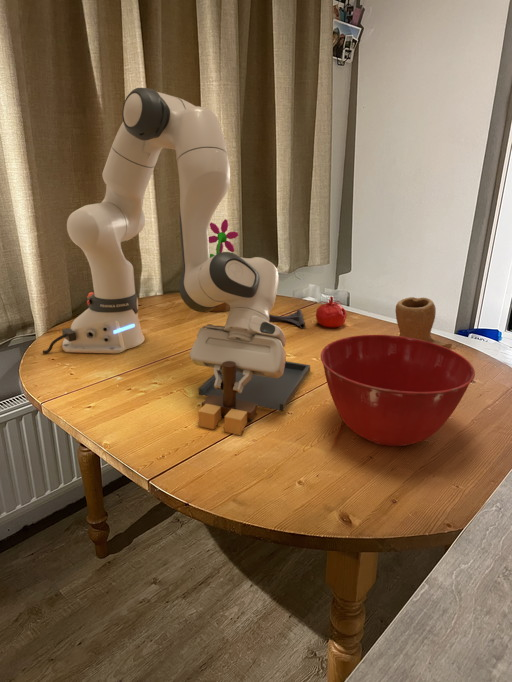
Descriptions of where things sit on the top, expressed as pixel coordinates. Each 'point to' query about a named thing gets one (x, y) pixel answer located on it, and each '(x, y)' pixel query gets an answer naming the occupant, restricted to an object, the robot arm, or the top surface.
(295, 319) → the dark grey scraper
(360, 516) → the top surface
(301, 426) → the top surface
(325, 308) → the pomegranate
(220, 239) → the flowerpot
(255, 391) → the tray
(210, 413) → the bread cube
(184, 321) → the top surface
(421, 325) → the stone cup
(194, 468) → the top surface
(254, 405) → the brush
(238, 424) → the bread cube
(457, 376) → the mixing bowl
